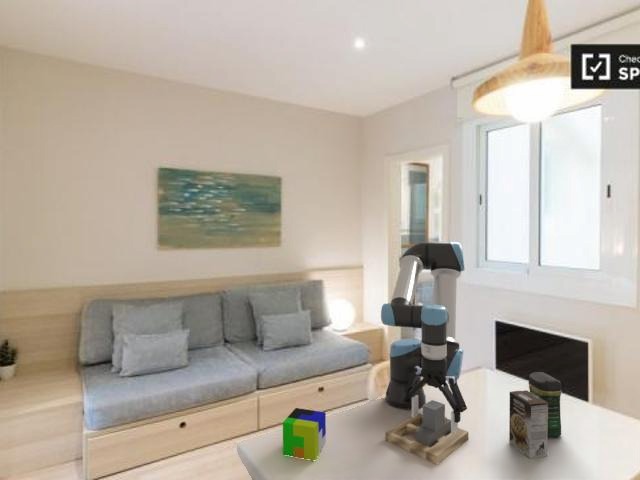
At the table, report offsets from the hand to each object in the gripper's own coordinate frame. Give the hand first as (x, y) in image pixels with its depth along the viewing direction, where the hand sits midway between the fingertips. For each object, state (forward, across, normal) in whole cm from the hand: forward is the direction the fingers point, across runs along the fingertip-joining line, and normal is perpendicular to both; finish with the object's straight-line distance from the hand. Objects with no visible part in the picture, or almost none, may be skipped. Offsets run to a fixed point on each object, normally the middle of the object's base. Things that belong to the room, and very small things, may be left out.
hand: (433, 423), depth 123 cm
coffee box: (+6, +22, +17) cm, 28 cm away
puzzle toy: (+6, -26, -31) cm, 41 cm away
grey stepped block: (+6, 0, 0) cm, 6 cm away
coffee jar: (+6, +22, +32) cm, 39 cm away
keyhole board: (+6, -2, 0) cm, 7 cm away
